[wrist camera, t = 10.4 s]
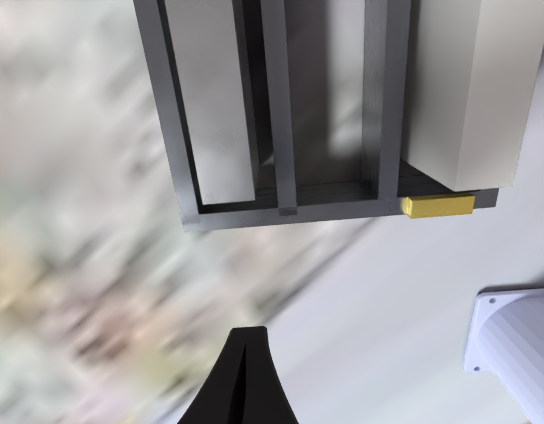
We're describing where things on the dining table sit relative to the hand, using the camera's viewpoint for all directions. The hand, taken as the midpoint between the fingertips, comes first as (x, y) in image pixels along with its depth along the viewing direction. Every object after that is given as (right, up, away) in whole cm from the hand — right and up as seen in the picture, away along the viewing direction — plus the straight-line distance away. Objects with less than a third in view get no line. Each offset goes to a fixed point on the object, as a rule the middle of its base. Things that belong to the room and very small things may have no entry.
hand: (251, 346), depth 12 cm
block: (+9, +14, +5) cm, 17 cm away
